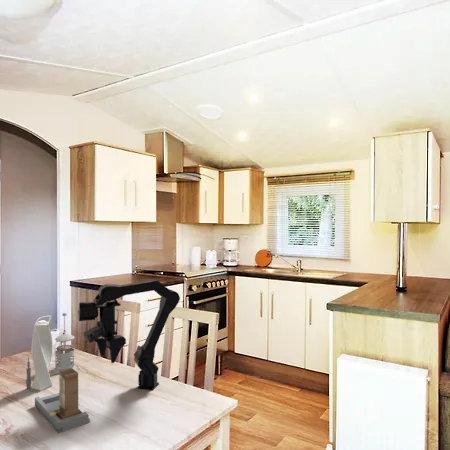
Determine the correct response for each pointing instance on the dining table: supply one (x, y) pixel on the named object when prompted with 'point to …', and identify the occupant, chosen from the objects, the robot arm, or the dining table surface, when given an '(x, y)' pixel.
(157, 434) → the dining table surface
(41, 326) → the skyscraper
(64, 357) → the french press
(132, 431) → the dining table surface
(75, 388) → the wooden block
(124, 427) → the dining table surface
